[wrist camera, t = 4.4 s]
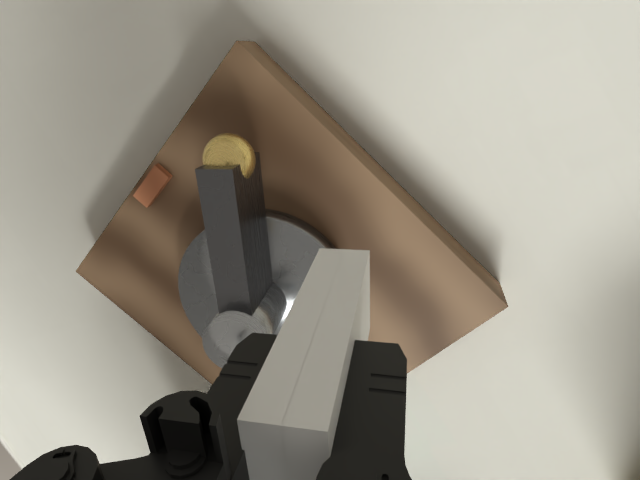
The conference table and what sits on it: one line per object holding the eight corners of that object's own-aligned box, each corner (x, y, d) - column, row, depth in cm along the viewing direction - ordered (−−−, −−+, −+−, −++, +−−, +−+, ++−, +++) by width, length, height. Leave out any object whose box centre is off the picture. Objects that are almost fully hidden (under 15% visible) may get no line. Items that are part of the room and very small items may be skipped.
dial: (354, 365, 31) (339, 439, 25) (203, 351, 34) (157, 414, 28) (349, 121, 24) (327, 143, 18) (159, 125, 27) (86, 145, 21)
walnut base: (299, 422, 39) (289, 454, 36) (101, 254, 36) (71, 274, 33) (499, 283, 30) (509, 310, 27) (254, 41, 27) (233, 40, 24)
